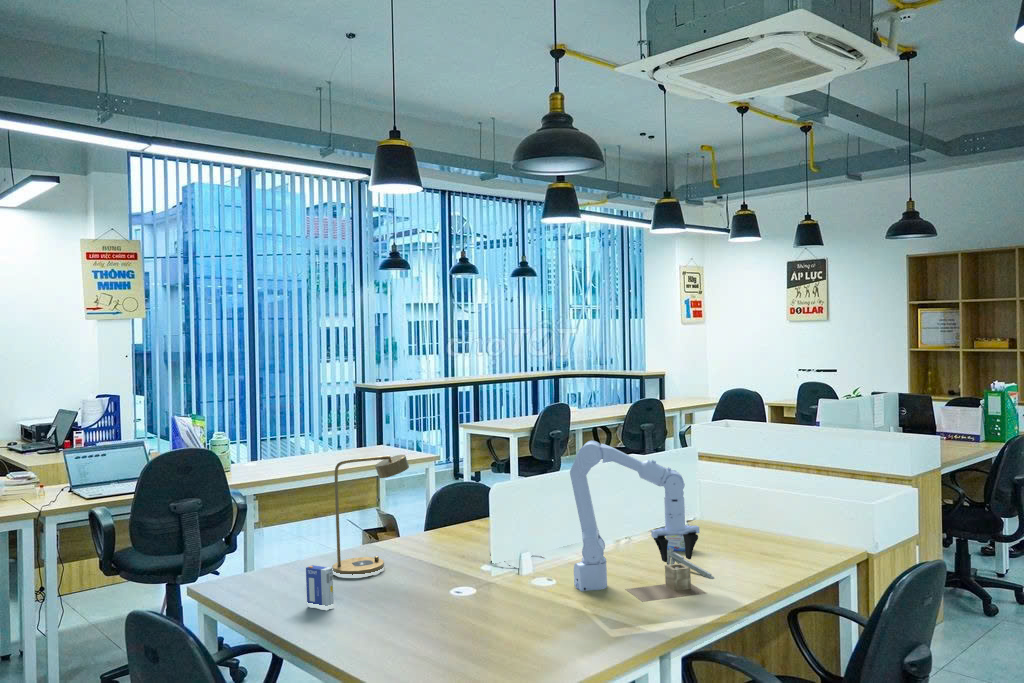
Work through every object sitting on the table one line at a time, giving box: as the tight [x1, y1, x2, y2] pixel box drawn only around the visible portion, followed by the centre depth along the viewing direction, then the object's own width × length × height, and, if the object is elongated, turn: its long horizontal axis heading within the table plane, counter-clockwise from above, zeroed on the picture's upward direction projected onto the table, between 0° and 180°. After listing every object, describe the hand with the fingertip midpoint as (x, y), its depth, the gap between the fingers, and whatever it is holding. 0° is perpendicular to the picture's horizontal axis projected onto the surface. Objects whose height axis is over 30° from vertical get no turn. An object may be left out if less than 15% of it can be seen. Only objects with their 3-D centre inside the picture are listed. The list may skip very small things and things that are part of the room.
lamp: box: [331, 454, 410, 575], centre depth 262 cm, size 17×27×38 cm, turn 113°
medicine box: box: [665, 524, 690, 552], centre depth 272 cm, size 8×4×9 cm, turn 73°
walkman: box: [305, 564, 335, 606], centre depth 223 cm, size 8×3×12 cm, turn 60°
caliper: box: [666, 547, 715, 580], centre depth 246 cm, size 20×1×6 cm, turn 31°
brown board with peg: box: [625, 567, 707, 603], centre depth 222 cm, size 20×12×7 cm, turn 105°
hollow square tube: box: [664, 563, 692, 591], centre depth 225 cm, size 5×5×6 cm
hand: (676, 559), depth 225 cm, fingers open, 7 cm apart
